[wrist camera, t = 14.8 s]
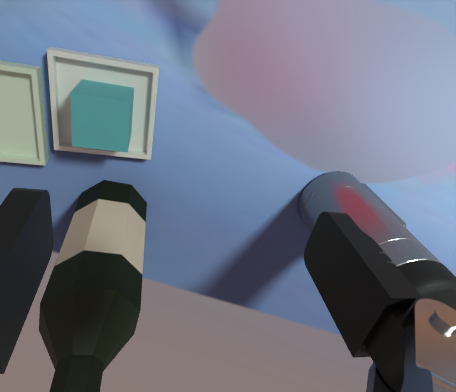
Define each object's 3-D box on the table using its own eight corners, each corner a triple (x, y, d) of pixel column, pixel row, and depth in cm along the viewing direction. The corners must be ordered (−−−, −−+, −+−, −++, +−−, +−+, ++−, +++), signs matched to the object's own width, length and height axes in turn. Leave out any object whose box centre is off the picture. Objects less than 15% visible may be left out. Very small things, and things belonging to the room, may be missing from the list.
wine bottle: (153, 228, 44) (145, 541, 19) (90, 239, 43) (-4, 581, 18) (139, 174, 40) (104, 494, 15) (68, 185, 39) (-97, 544, 14)
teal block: (134, 87, 34) (130, 102, 30) (131, 133, 36) (127, 152, 32) (81, 79, 32) (70, 93, 28) (82, 127, 35) (72, 146, 31)
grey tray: (158, 65, 33) (158, 68, 32) (151, 154, 38) (150, 159, 37) (51, 46, 31) (46, 49, 30) (57, 144, 36) (54, 149, 35)
